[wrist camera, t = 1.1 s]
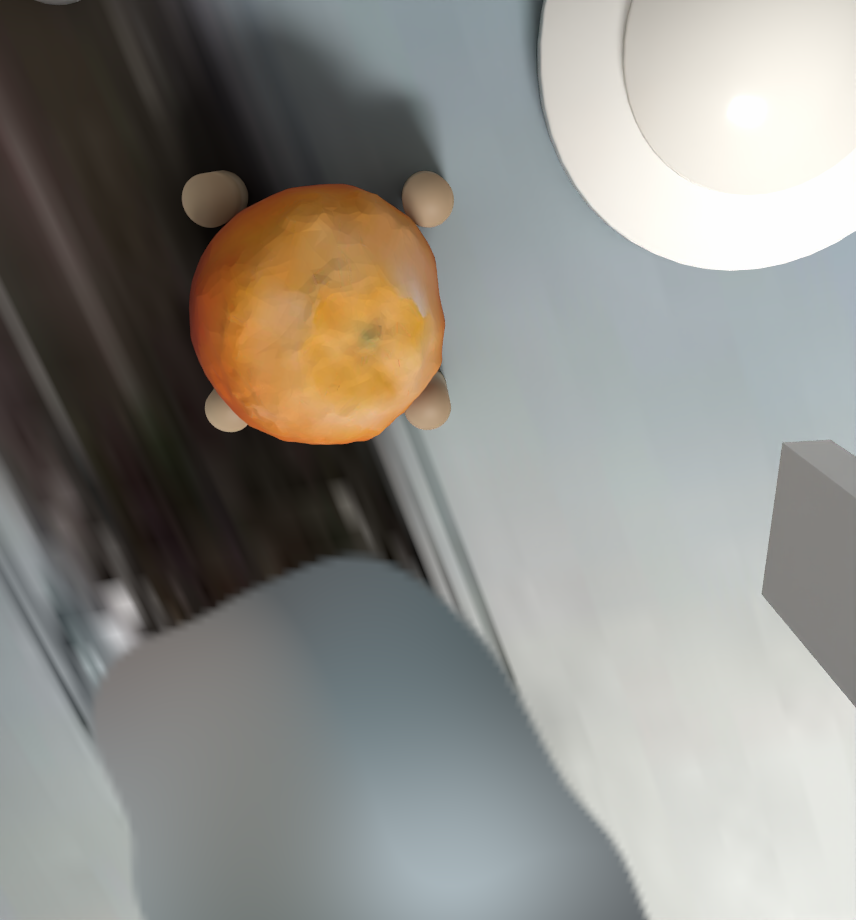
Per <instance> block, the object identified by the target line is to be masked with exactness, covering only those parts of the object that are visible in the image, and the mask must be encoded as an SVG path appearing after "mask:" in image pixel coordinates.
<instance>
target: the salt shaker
mask: <svg viewBox="0 0 856 920" xmlns="http://www.w3.org/2000/svg"><path fill="white" fill-rule="evenodd" d="M35 1H38V2H41V3H45V4H50V5H67V4H71V3H75V2H78V1H80V0H35Z"/></svg>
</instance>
